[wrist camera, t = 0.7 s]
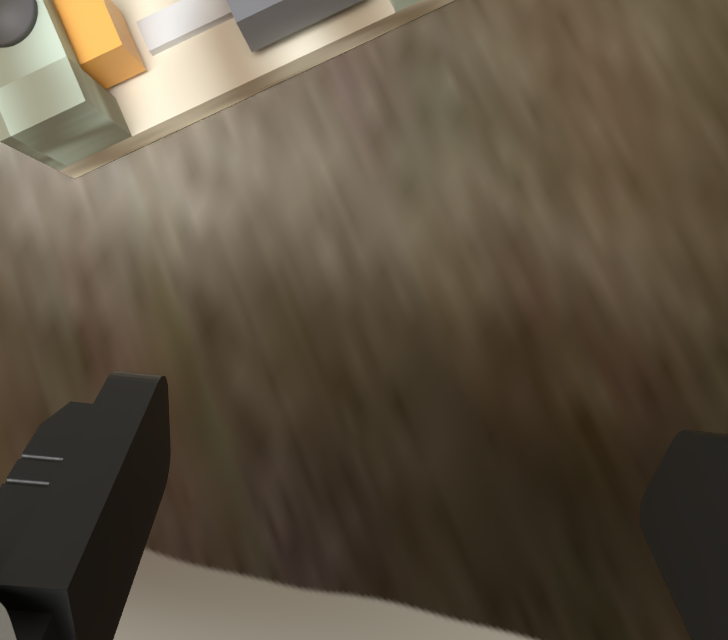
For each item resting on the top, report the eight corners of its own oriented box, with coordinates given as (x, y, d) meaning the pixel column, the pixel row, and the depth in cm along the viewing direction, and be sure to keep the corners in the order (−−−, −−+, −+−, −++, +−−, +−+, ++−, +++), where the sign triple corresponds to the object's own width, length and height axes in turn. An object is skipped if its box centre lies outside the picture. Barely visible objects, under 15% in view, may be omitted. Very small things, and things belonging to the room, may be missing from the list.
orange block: (120, 11, 31) (94, -20, 28) (146, 69, 31) (122, 44, 28) (65, 37, 31) (34, 9, 28) (90, 96, 31) (61, 73, 28)
